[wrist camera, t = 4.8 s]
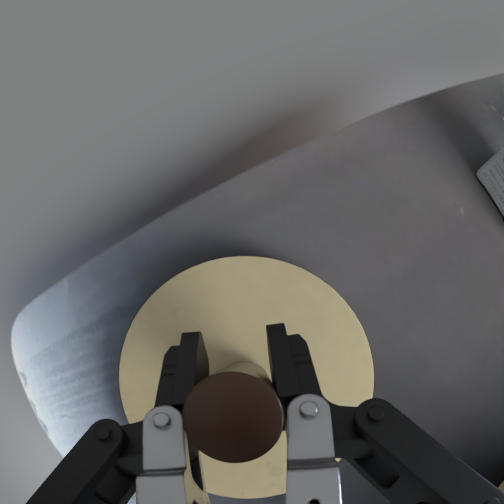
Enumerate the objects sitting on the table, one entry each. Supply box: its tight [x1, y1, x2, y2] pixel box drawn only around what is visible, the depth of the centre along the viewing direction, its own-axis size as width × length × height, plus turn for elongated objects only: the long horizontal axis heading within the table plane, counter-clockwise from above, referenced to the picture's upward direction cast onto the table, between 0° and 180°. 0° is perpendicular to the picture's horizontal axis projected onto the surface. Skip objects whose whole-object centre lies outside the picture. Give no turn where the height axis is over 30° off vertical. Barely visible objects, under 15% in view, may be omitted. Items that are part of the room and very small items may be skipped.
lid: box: [119, 256, 374, 499], centre depth 11 cm, size 13×13×9 cm
